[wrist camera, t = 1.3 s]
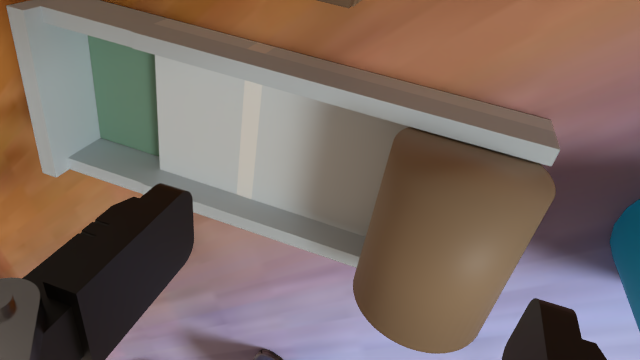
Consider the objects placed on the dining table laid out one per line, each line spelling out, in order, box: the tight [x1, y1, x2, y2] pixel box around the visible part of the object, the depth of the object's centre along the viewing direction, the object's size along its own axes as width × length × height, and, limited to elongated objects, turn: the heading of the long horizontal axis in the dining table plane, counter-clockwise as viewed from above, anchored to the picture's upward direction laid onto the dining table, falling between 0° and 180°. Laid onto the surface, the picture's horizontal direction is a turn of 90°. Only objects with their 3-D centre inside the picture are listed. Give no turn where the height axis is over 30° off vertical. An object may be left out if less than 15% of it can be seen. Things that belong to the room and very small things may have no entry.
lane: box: [6, 0, 560, 353], centre depth 28 cm, size 12×32×10 cm, turn 80°
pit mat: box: [88, 35, 159, 156], centre depth 34 cm, size 10×6×1 cm, turn 170°
